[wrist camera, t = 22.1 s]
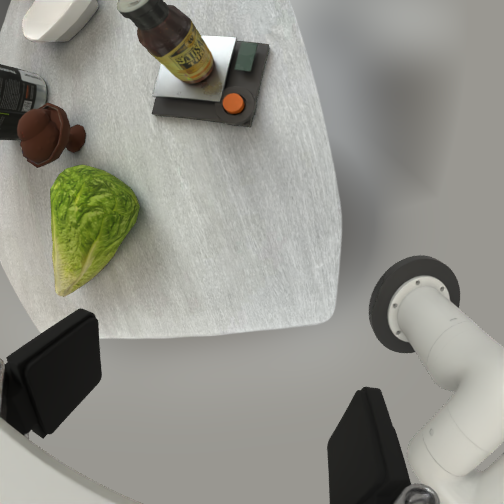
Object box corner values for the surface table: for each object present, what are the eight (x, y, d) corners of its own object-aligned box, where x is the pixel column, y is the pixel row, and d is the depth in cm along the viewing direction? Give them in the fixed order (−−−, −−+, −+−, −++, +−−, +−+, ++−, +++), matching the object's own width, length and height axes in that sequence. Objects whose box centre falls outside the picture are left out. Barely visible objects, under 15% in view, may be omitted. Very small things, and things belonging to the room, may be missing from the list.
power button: (246, 97, 38) (244, 94, 36) (242, 115, 38) (240, 113, 37) (227, 95, 38) (225, 92, 37) (223, 112, 39) (220, 110, 37)
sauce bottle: (204, 90, 37) (138, 31, 18) (169, 79, 37) (92, 26, 18) (224, 53, 36) (176, -23, 16) (188, 44, 36) (127, -24, 17)
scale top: (258, 41, 35) (257, 39, 35) (242, 105, 38) (241, 104, 37) (171, 37, 36) (169, 35, 36) (153, 97, 39) (151, 96, 38)
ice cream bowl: (55, 123, 45) (0, 116, 31) (95, 103, 43) (39, 87, 29) (58, 172, 47) (2, 175, 33) (99, 156, 45) (40, 153, 31)
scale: (271, 48, 38) (270, 40, 35) (252, 130, 41) (249, 126, 38) (176, 41, 39) (169, 34, 36) (154, 117, 43) (146, 114, 40)
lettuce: (109, 305, 53) (64, 257, 54) (161, 201, 45) (105, 155, 46) (58, 335, 39) (13, 276, 40) (98, 213, 31) (42, 154, 32)
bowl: (120, -1, 37) (97, -20, 28) (63, 63, 42) (34, 52, 33) (88, -20, 36) (67, -36, 27) (39, 35, 41) (14, 25, 32)
